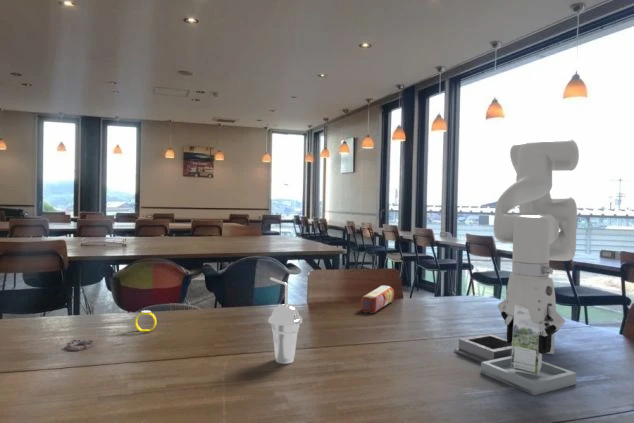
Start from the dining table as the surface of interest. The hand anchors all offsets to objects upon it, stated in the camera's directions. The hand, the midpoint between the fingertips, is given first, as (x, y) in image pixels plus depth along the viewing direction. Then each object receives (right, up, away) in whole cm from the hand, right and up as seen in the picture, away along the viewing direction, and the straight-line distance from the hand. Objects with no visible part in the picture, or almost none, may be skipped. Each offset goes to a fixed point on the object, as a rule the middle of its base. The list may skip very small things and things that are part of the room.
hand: (527, 346), depth 105 cm
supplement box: (+12, -7, +21) cm, 26 cm away
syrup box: (0, -5, 0) cm, 5 cm away
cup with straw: (-56, -6, +9) cm, 57 cm away
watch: (-98, -5, +32) cm, 104 cm away
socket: (-3, -7, +15) cm, 17 cm away
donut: (-110, -6, +16) cm, 111 cm away
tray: (0, -7, 0) cm, 7 cm away
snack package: (-25, -6, +68) cm, 73 cm away
